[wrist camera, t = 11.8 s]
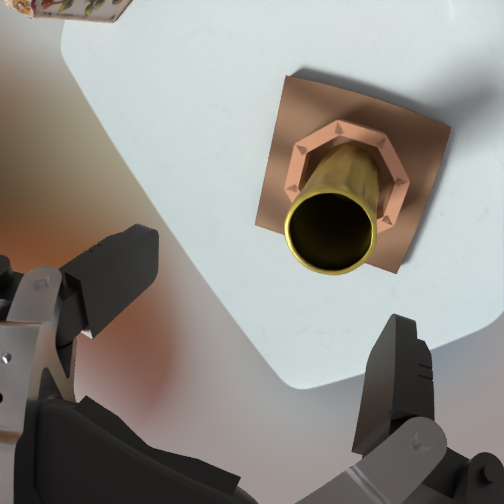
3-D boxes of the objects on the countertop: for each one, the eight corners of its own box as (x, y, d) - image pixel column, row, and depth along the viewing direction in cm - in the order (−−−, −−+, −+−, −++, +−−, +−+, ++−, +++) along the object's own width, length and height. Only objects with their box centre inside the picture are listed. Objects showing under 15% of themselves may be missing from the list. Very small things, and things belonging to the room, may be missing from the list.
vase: (392, 169, 27) (408, 223, 15) (357, 218, 31) (342, 301, 19) (337, 132, 28) (311, 155, 16) (305, 184, 31) (257, 244, 19)
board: (289, 76, 28) (285, 75, 27) (447, 126, 25) (451, 127, 23) (259, 220, 36) (254, 225, 35) (396, 267, 33) (396, 274, 32)
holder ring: (308, 109, 28) (301, 110, 25) (416, 143, 25) (420, 148, 23) (285, 209, 33) (276, 219, 31) (381, 242, 31) (382, 255, 28)
